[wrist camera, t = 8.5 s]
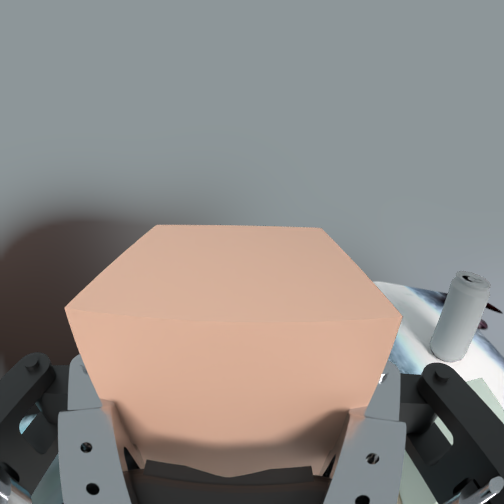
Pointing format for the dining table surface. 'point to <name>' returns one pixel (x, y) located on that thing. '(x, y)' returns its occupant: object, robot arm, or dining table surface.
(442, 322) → the beverage can
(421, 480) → the sage top block
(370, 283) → the terracotta pillar block
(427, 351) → the dining table surface
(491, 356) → the dining table surface
